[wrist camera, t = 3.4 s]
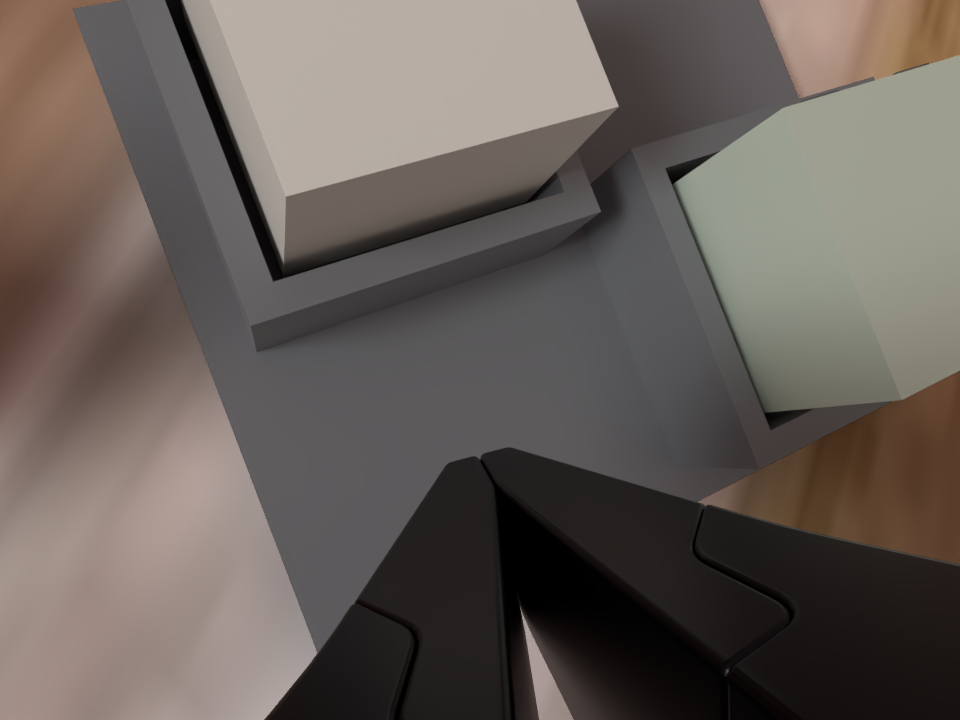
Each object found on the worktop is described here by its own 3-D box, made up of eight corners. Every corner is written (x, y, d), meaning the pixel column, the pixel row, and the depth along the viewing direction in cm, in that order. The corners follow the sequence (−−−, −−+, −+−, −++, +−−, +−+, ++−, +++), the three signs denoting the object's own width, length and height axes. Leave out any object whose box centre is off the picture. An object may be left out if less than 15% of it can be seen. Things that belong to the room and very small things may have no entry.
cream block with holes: (532, 200, 19) (626, 104, 14) (283, 276, 17) (285, 196, 12) (439, -33, 19) (499, -214, 14) (182, 12, 17) (139, -182, 12)
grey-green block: (908, 335, 22) (1098, 298, 17) (740, 414, 20) (902, 400, 15) (826, 134, 23) (990, 37, 17) (651, 191, 20) (779, 99, 15)
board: (894, 391, 26) (1028, 376, 22) (329, 677, 19) (345, 749, 15) (702, -79, 27) (793, -194, 22) (82, 30, 20) (19, -105, 15)
